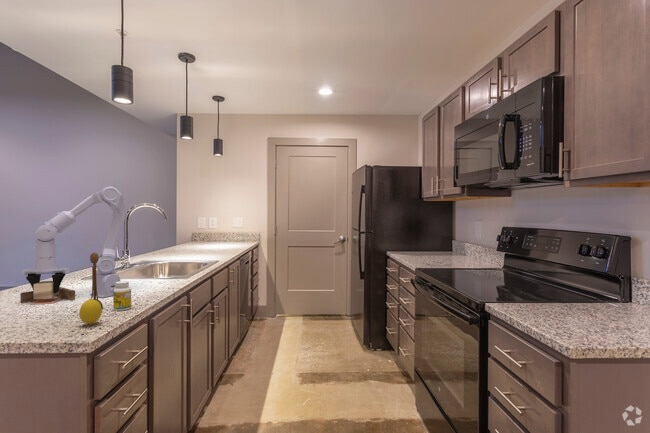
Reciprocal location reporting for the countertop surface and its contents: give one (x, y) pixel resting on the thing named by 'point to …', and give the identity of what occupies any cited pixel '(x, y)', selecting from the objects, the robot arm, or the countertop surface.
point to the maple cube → (44, 290)
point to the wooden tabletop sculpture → (94, 277)
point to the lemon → (90, 311)
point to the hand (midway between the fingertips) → (46, 293)
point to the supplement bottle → (122, 296)
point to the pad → (46, 301)
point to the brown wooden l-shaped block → (63, 293)
